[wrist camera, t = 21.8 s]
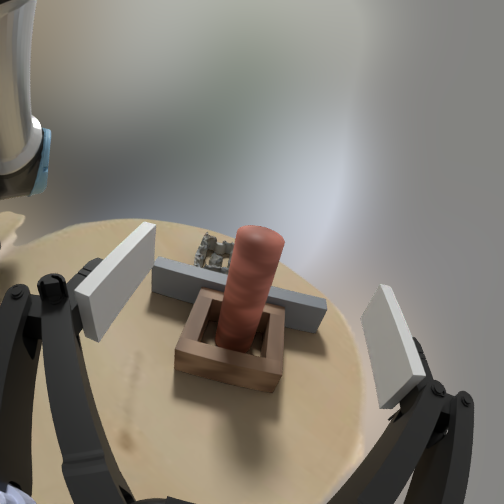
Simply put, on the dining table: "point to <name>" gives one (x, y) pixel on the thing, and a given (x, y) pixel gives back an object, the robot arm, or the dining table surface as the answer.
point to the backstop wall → (193, 278)
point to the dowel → (247, 286)
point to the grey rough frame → (215, 259)
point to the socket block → (227, 361)
